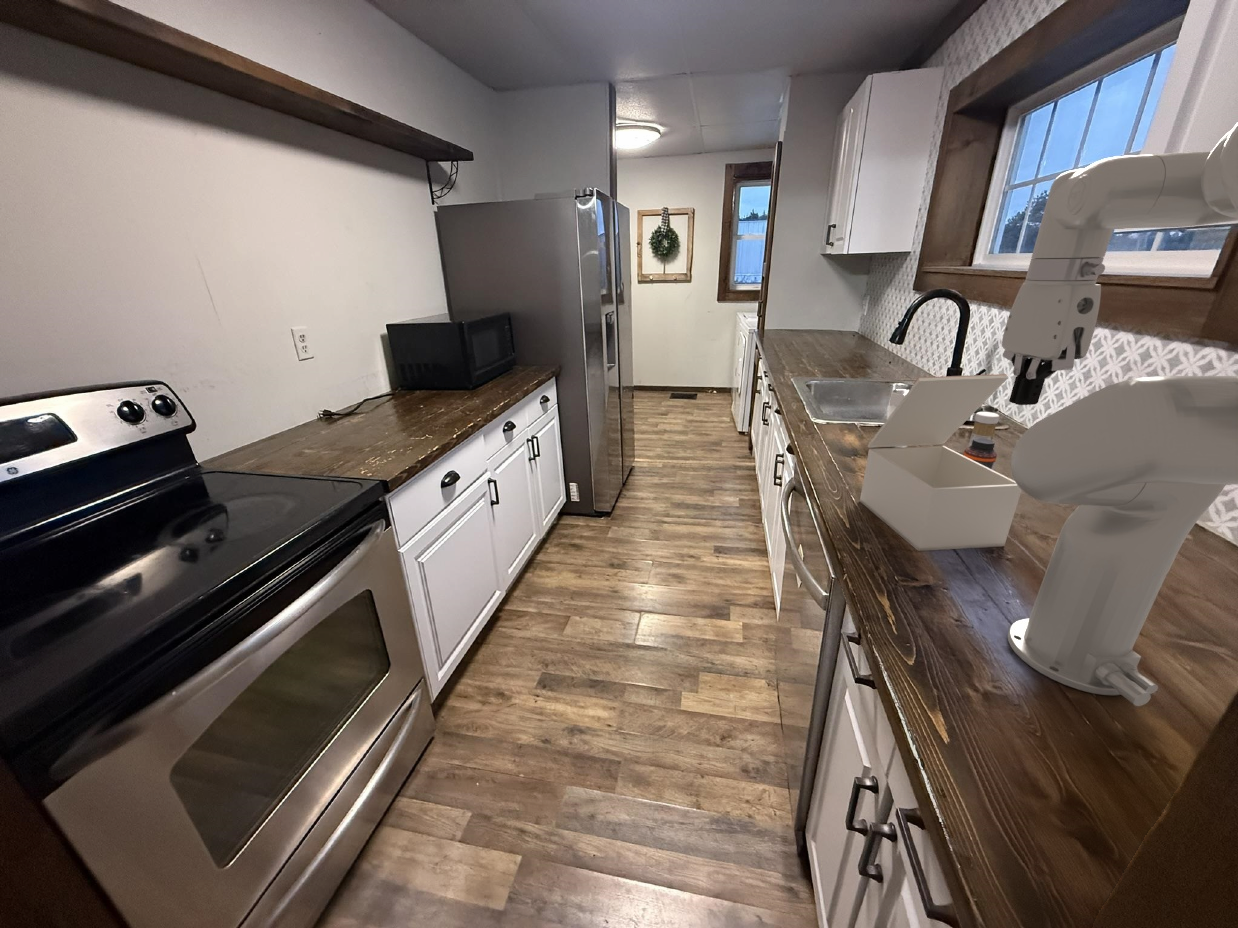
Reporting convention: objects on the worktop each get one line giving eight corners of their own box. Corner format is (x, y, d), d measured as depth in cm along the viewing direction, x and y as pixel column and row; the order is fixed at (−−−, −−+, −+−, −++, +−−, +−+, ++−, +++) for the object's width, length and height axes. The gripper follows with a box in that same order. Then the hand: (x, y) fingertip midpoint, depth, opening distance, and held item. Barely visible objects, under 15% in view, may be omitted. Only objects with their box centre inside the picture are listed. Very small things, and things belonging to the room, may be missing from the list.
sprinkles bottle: (988, 466, 122) (1003, 414, 117) (980, 470, 120) (994, 417, 115) (968, 460, 126) (981, 409, 121) (959, 464, 123) (972, 413, 118)
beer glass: (875, 442, 140) (885, 390, 134) (892, 439, 142) (903, 387, 137) (898, 450, 134) (909, 396, 128) (915, 446, 136) (926, 393, 131)
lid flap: (1008, 377, 86) (1006, 374, 86) (920, 381, 85) (918, 377, 85) (942, 444, 103) (941, 441, 103) (868, 447, 102) (867, 444, 102)
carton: (1004, 546, 88) (1023, 485, 84) (918, 550, 87) (932, 489, 83) (931, 497, 107) (943, 445, 102) (859, 501, 106) (869, 449, 101)
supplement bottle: (956, 490, 110) (968, 442, 106) (953, 480, 115) (965, 434, 111) (988, 495, 107) (1002, 446, 103) (984, 484, 112) (998, 437, 108)
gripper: (1145, 273, 60) (1093, 416, 67) (1041, 271, 74) (1007, 390, 81) (1087, 275, 60) (1041, 419, 67) (993, 272, 74) (963, 392, 81)
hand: (1022, 403), depth 74 cm, fingers closed
